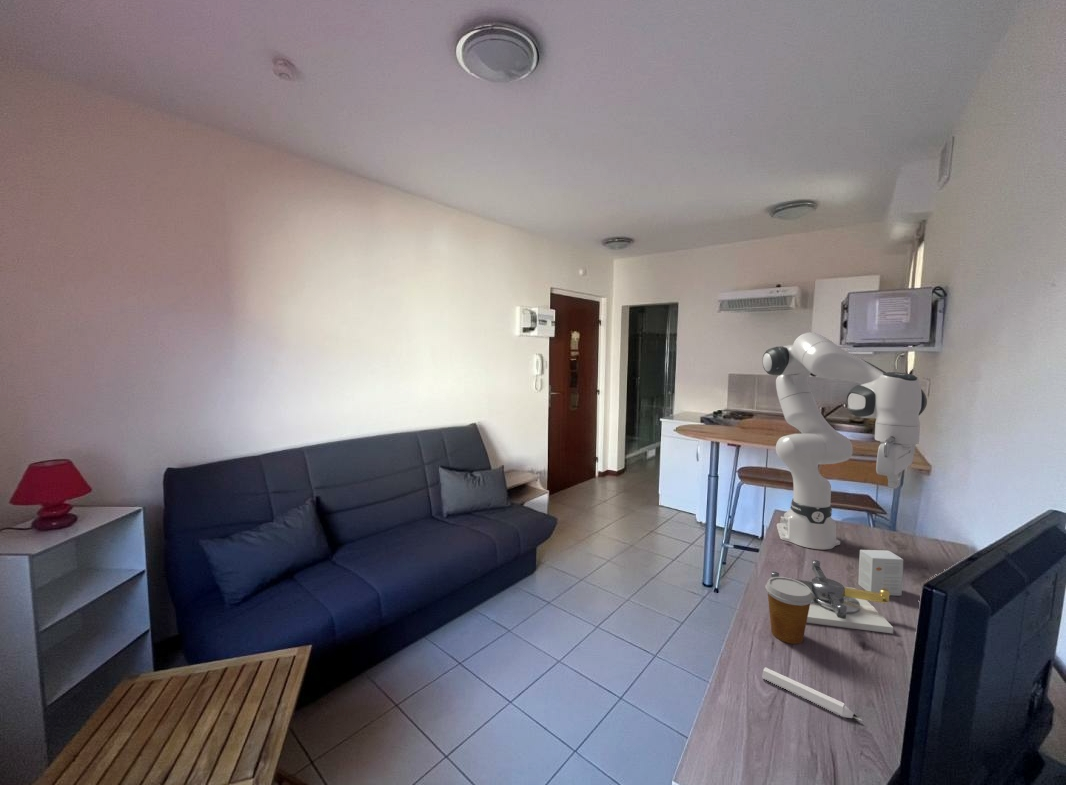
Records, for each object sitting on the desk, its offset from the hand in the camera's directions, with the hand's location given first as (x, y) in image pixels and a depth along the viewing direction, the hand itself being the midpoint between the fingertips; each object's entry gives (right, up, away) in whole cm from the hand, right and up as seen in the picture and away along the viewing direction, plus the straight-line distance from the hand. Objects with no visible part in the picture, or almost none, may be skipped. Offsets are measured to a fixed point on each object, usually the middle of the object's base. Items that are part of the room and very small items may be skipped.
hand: (893, 487), depth 111 cm
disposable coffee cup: (-35, -32, -12) cm, 49 cm away
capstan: (-18, -29, -1) cm, 34 cm away
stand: (-17, -31, 0) cm, 36 cm away
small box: (+2, -31, +8) cm, 32 cm away
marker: (-42, -34, -31) cm, 62 cm away
